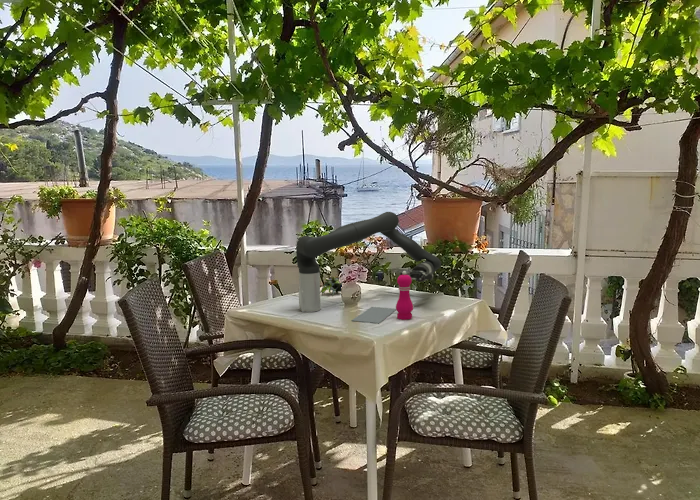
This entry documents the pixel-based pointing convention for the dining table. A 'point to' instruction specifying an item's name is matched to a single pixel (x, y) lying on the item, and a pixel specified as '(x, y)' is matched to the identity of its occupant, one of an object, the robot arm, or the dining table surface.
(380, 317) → the mat
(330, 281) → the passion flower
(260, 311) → the dining table surface
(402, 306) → the pepper mill
